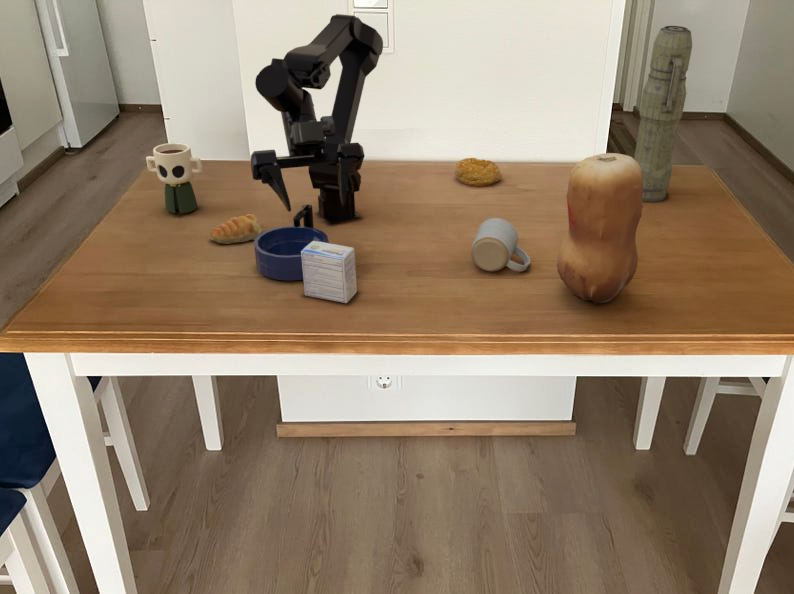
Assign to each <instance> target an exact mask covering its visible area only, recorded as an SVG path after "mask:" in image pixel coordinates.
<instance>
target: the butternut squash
mask: <svg viewBox="0 0 794 594" xmlns="http://www.w3.org/2000/svg"><path fill="white" fill-rule="evenodd" d="M570 171H571V172H570V175H569V180H568V184H567V191H566V205H567V217H568V218H567V219H568V230H567V232H566V235H565V236H564V238H563V240H562V242H561V245H560V248H559V251H558V255H557V261H556V268H557V273H558V275H559V277H560V279H561V281H562V283H563V284H564V285H565V288H567V290H569V291H570V293H571V294H572V295H573V296H576V297H577V298H579V299H581V300H582V301H592V302H593V303H594V304H605V303H609V302H612V301H613V300H614V299H615V298H616V297H617V296H618V295H619V294H621V292H622V291H623V290H624V289H625V288H626V287H627V286H628V285H629V284H630V283H631V281H633V278H634V276H635V274H636V272H637V268H638V264H639V263H638V261H639V256H638V250H637V249H638V248H637V245H636V244H637V243H636V235H637V230H638V225H639V223H640V220H641V218H642V216H643V215H642V213H643V206H644V205H643V201H642V199H643V175H642V170H641V167H640V165H639V164H638V162H637V161H636V160H635V159H634V157H632V156H630V155H627V154H622V153H616V152H606V153H598V154H595V155H592V156H588V157H585V158H584V159H582V160H581V161H578V162H577V163H576V164H575V165H574V167H572V169H571V170H570Z"/></svg>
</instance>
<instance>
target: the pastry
mask: <svg viewBox="0 0 794 594" xmlns="http://www.w3.org/2000/svg"><path fill="white" fill-rule="evenodd" d="M262 233H263V229H262V227H261V224H260V222H259V220H258V218H257V217H256V215H254V214H253V213H251V214H250V213H246V215H239V216H234V217H231V218H229V219H228V220H226V221H225V222H223V223H220V224H218V225H216V227H214V228H213V229H212V230H211V232H210V239H211V240H212V241H214V242H216V243H219V244H223V245H225V244H226V245H229V244H237V243H245V242H249V241H250V240H253V241H255V239H256V238H257V236H259V235H260V234H262Z"/></svg>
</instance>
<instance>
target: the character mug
mask: <svg viewBox="0 0 794 594" xmlns="http://www.w3.org/2000/svg"><path fill="white" fill-rule="evenodd" d="M152 154H153V156H151V155H150V156H149V155H148V156H146V157H145V161H146V166H147V171H148V172H149V173H152V174H153V173H155V174H156V175H157V178H158V180H159V181H160V182H161V183H162V184H163V183H164V184H165V185H164V203H165V204H164V205H165V210H166V211H167V212H168V213H170V214H171V213H172V214H176V210H178V211H179V214H188V213H191V212H193V211H195V210H196V208H197V207H198V202H197V198H196V195H195V191H194V188H193V185H192V183H191V181H192V180H193V179H194V177H195V174H199V175H200V174H202V173H203V171H204V170H203V164H202V159H201V158H200V157H195V156H194V157H193V156H192V150H191V146H190V145H188V144H187V143H183V142H168V143H161V144H159V145H156V146H155V147H153V150H152ZM152 162H154V164H155V165H154V166H155V167H153V163H152ZM194 163H196V167H197V168H194Z"/></svg>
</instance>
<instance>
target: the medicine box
mask: <svg viewBox="0 0 794 594" xmlns="http://www.w3.org/2000/svg"><path fill="white" fill-rule="evenodd" d="M355 251H356V250H355V248H354V247H351V246H346V245H341V244H336V243H330V242H329V243H325V242H318V241H312V242H311V243H310V244H308V245H307V246H306V247H305V248H304V249H303V250H302V251H301V257H302V267H303V278H304V279H303V289H304V296H306V297H311V298H317V299H322V300H326V301H332V302H338V303H342V304H348V302H350V301H351V299H352V298H353V297H354V296H355V295H356V294H357V292H358V287H357V284H358V283H357V272H356V271H357V270H356V269H357V268H356V254H355V253H356V252H355Z"/></svg>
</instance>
